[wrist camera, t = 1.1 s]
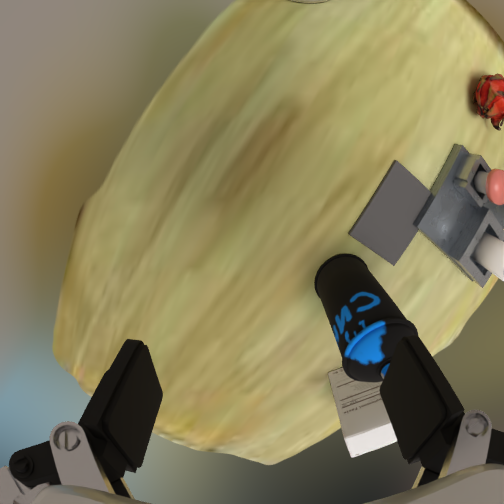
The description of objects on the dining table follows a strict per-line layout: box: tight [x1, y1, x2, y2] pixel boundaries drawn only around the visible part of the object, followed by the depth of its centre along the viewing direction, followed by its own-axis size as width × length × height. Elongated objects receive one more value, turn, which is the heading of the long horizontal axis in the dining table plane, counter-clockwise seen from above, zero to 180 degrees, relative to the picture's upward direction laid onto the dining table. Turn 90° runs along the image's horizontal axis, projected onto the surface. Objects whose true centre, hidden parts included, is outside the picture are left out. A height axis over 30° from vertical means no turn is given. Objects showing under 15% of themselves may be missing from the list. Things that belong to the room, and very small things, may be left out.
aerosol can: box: [315, 254, 418, 383], centre depth 28 cm, size 8×8×20 cm
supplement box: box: [328, 367, 397, 457], centre depth 38 cm, size 9×9×15 cm
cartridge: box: [470, 232, 504, 281], centre depth 28 cm, size 5×5×10 cm
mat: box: [348, 160, 431, 266], centre depth 34 cm, size 12×9×1 cm
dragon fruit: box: [473, 74, 504, 130], centre depth 23 cm, size 8×8×12 cm
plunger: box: [474, 169, 504, 205], centre depth 25 cm, size 5×5×4 cm
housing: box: [413, 144, 504, 288], centre depth 31 cm, size 15×18×5 cm
